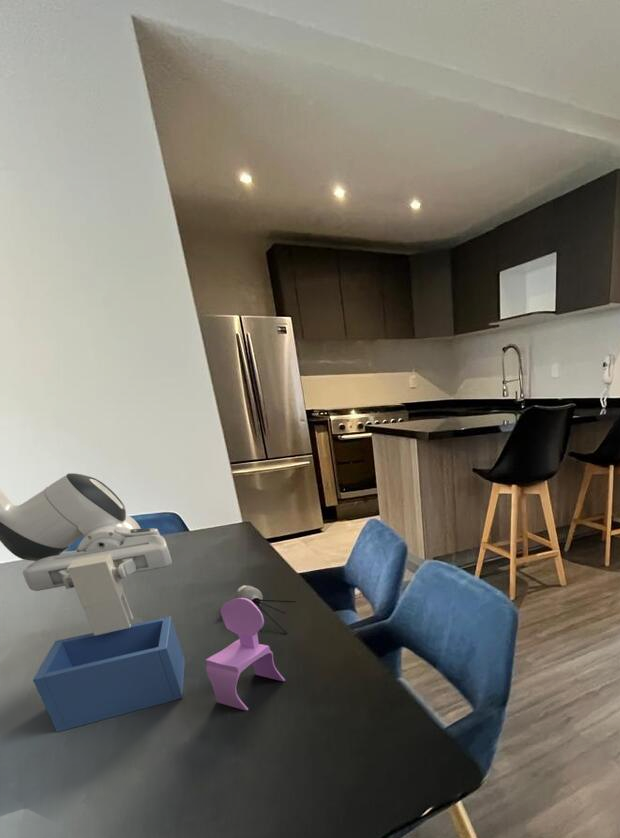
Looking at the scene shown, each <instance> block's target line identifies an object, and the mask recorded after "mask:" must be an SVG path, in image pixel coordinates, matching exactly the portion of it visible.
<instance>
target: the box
mask: <svg viewBox="0 0 620 838" xmlns="http://www.w3.org/2000/svg"><path fill="white" fill-rule="evenodd" d="M185 666H186V659H185V657H184V654H183V650H182V647H181V644H180V641H179V637H178V635H177V632H176V628H175V624H174V622H173V619H172V616H170V615H169V616H165V617H159V618H156V619H151V620H146V621H142V622H136V623H132V624H131V627H130V628H127V629H123V630H118V631H114V632H109V633H105V634H101V635H96V636H94V634H93V632H91V633H85V634H81V635H76V636H71V637H68V638H63V639H58V640H55V641H54V642H53V644H52V646H51V648H50V649H49V651H48V653H47V655H46V656H45V658H44V660H43V662H42V663H41V664H40V667H39V669H38V670H37V672H36V674H35V675H34V677H33V679H32V681H33V683H34V686H35V688H36V690H37V692H38V694H39V696H40V699H41V701H42V703H43V705H44V708H45V710H46V711H47V714H48V716H49V718H50V720H51V722H52V724H53V727H54V729H55V731H56V733H59V732H63V731H66V730H71V729H75V728H78V727H81V726H85V725H89V724H93V723H96V722H100V721H103V720H107V719H110V718H111V719H112V718H114V717H118V716H122V715H126V714H130V713H133V712H136V711H140V710H144V709H147V708H151V707H154V706H158V705H162V704H166V703H169V702H173V701H176V700H180V699H183V698H184V682H185V668H186V667H185Z"/></svg>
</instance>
